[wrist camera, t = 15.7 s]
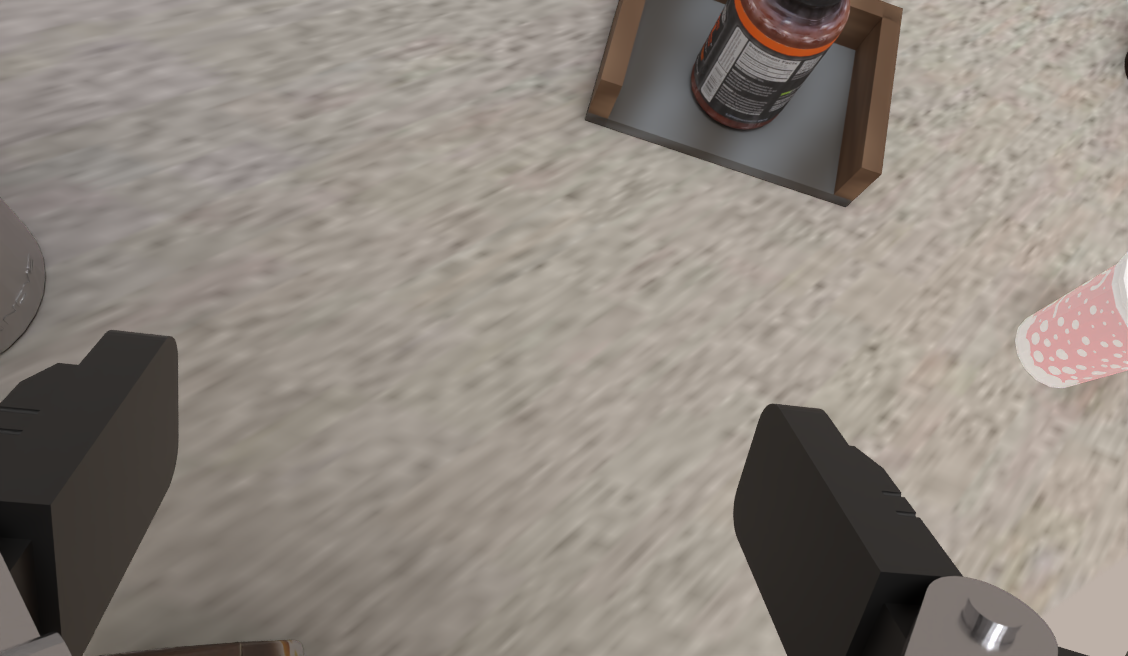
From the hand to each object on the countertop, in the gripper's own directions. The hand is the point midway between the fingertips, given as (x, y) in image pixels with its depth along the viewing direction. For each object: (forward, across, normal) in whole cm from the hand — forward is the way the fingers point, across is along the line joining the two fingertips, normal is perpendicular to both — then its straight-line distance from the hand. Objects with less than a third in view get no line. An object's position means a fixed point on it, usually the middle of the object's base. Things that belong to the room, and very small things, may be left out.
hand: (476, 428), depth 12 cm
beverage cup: (+32, -36, +11) cm, 50 cm away
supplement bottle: (+42, -16, +1) cm, 45 cm away
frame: (+43, -16, 0) cm, 46 cm away
